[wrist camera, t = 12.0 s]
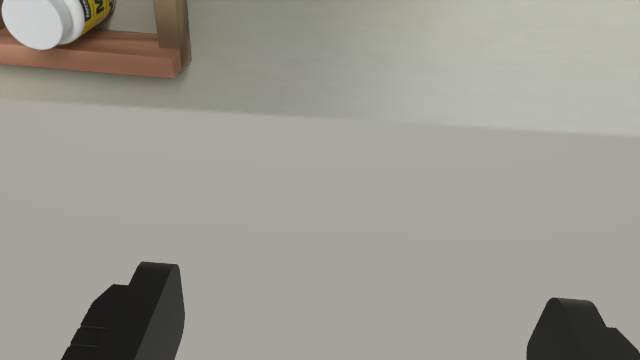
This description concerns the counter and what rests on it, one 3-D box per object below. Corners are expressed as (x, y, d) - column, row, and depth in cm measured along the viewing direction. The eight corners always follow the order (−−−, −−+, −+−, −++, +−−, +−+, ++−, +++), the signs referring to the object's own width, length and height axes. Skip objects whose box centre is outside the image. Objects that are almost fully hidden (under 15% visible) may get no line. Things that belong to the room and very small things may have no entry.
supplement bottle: (129, 3, 40) (83, 36, 34) (86, 30, 42) (34, 68, 35) (87, -54, 38) (29, -31, 31) (43, -23, 40) (-22, 6, 33)
